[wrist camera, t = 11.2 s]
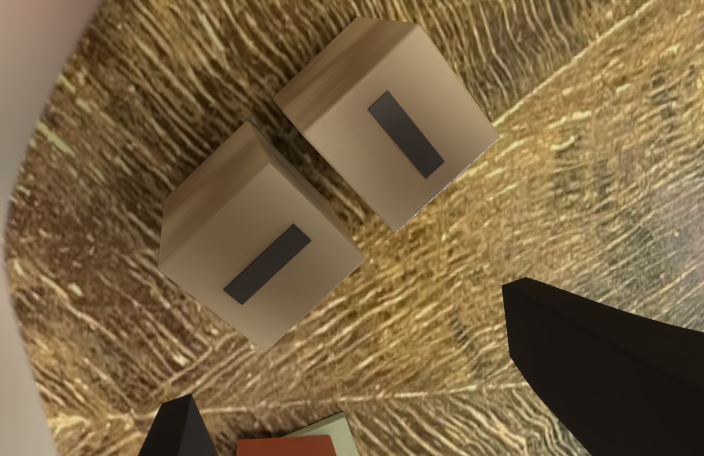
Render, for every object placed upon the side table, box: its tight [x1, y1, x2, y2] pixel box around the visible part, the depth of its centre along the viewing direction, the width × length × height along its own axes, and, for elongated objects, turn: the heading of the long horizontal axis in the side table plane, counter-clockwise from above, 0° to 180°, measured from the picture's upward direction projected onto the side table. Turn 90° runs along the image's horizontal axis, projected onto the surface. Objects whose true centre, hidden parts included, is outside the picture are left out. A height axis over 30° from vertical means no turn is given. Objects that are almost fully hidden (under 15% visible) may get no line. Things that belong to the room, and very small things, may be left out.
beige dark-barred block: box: [158, 121, 366, 351], centre depth 18 cm, size 4×4×6 cm
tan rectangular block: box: [273, 16, 500, 233], centre depth 17 cm, size 4×4×6 cm
